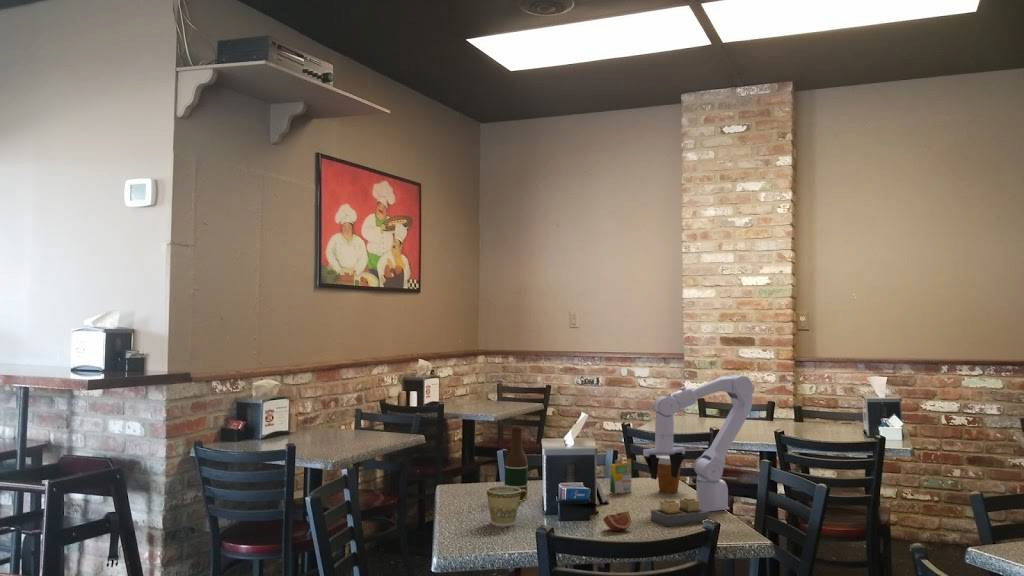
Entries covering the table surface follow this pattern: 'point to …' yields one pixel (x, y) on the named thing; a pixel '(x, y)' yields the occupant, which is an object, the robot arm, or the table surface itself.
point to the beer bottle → (516, 463)
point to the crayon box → (620, 476)
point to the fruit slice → (618, 521)
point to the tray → (681, 514)
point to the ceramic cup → (504, 504)
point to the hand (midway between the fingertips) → (664, 477)
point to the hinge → (600, 495)
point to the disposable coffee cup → (666, 475)
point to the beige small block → (669, 507)
